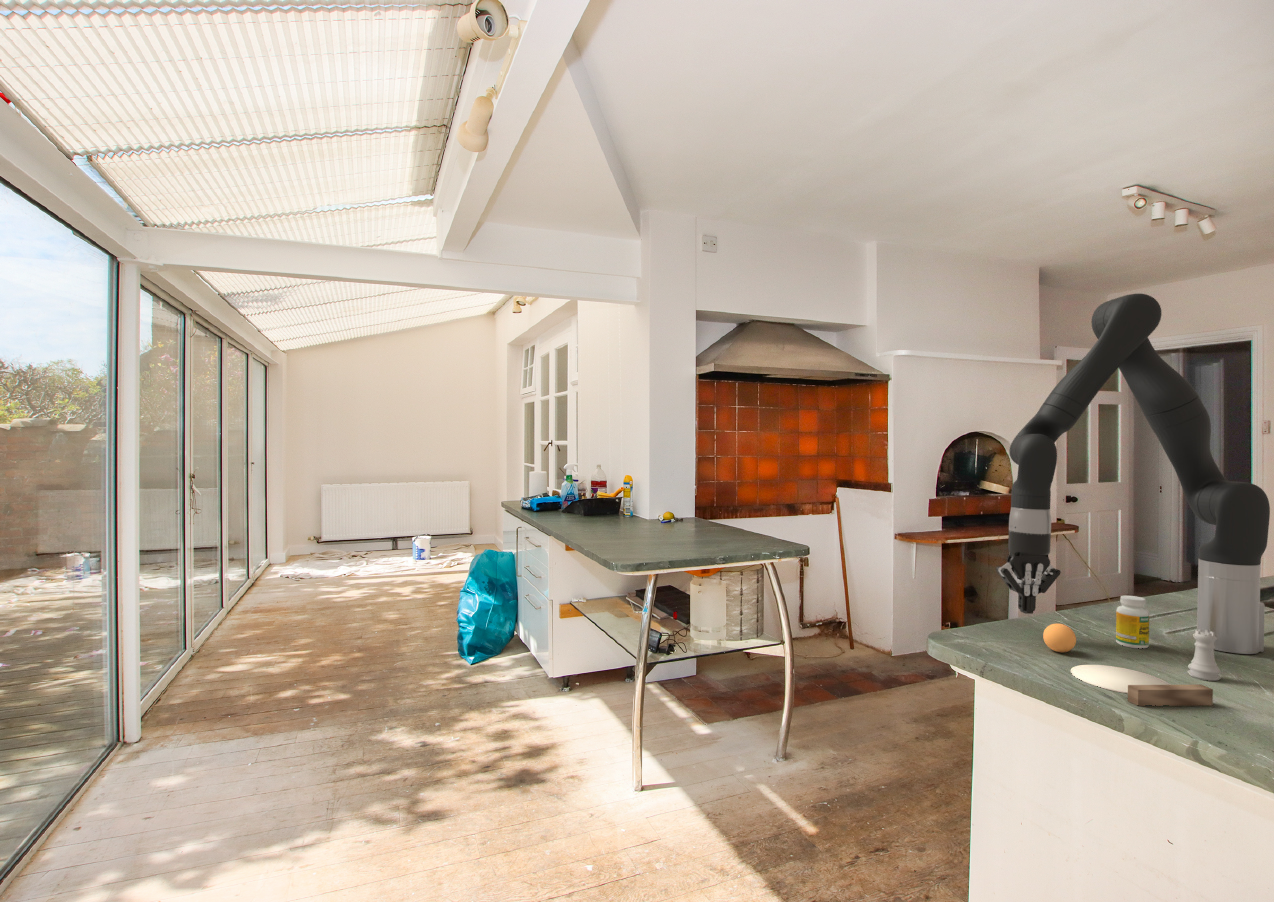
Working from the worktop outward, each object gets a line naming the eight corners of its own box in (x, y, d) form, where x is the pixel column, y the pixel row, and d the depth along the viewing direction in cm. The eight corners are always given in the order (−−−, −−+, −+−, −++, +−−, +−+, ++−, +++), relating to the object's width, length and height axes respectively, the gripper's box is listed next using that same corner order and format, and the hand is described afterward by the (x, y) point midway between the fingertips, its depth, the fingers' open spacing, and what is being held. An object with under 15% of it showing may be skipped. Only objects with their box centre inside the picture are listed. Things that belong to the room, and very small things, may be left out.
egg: (1063, 647, 130) (1063, 620, 130) (1082, 656, 125) (1083, 627, 125) (1036, 647, 130) (1037, 620, 130) (1055, 656, 124) (1055, 627, 124)
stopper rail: (1200, 700, 103) (1201, 684, 103) (1212, 705, 101) (1212, 689, 101) (1127, 700, 103) (1127, 684, 103) (1137, 705, 101) (1138, 689, 101)
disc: (1126, 665, 119) (1126, 664, 119) (1195, 695, 106) (1195, 693, 106) (1052, 665, 119) (1052, 664, 119) (1111, 695, 105) (1111, 694, 105)
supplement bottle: (1122, 639, 136) (1123, 593, 136) (1153, 646, 131) (1154, 598, 131) (1110, 643, 133) (1111, 596, 133) (1142, 650, 128) (1143, 602, 128)
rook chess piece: (1213, 674, 115) (1214, 629, 115) (1226, 683, 111) (1227, 636, 111) (1182, 671, 117) (1183, 626, 117) (1194, 679, 113) (1195, 633, 112)
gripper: (1009, 531, 132) (1006, 617, 132) (1073, 533, 133) (1070, 618, 133) (988, 526, 140) (985, 607, 140) (1048, 528, 140) (1045, 608, 141)
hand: (1026, 612), depth 136 cm, fingers closed
